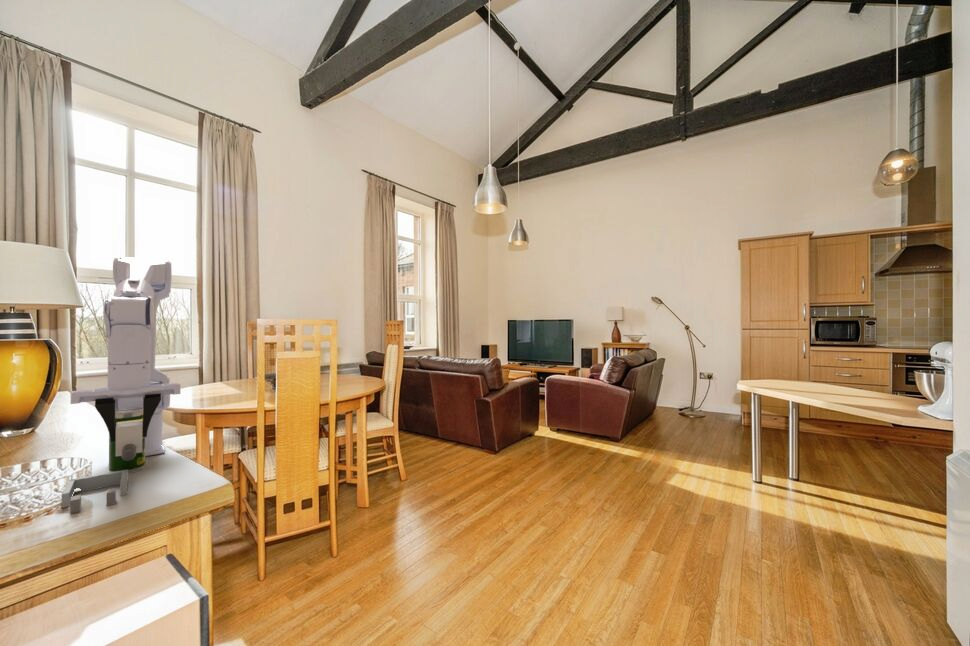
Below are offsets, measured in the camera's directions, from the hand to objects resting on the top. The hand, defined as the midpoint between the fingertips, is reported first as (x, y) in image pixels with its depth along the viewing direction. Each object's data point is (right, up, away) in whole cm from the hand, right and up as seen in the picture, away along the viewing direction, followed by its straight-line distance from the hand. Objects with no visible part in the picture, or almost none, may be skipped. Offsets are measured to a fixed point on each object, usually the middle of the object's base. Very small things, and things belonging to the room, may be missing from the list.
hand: (129, 438), depth 71 cm
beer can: (-7, -9, +7) cm, 13 cm away
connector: (+2, -2, -2) cm, 3 cm away
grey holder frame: (-1, -9, -5) cm, 10 cm away
